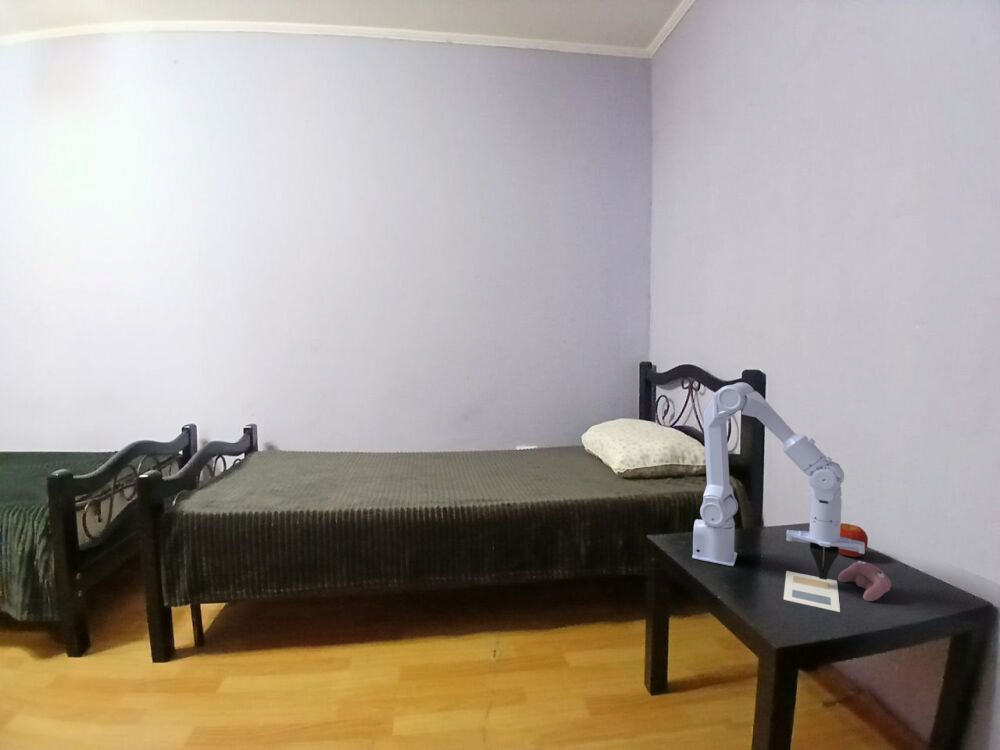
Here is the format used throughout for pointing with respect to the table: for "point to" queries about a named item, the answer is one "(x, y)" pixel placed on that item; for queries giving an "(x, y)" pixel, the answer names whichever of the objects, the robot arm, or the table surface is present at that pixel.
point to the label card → (811, 591)
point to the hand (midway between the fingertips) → (822, 577)
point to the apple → (852, 537)
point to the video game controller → (867, 579)
